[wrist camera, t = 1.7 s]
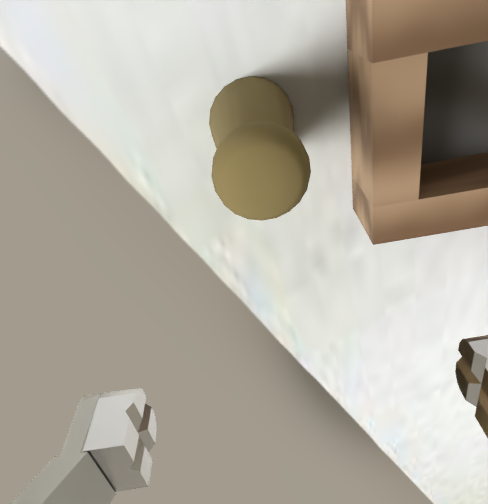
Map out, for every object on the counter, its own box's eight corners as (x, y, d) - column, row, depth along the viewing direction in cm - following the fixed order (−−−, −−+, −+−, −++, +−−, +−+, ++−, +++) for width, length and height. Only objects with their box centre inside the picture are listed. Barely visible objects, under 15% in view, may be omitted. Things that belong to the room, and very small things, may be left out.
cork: (221, 65, 28) (219, 108, 18) (305, 90, 29) (344, 144, 19) (200, 150, 31) (190, 223, 22) (277, 170, 32) (299, 248, 23)
